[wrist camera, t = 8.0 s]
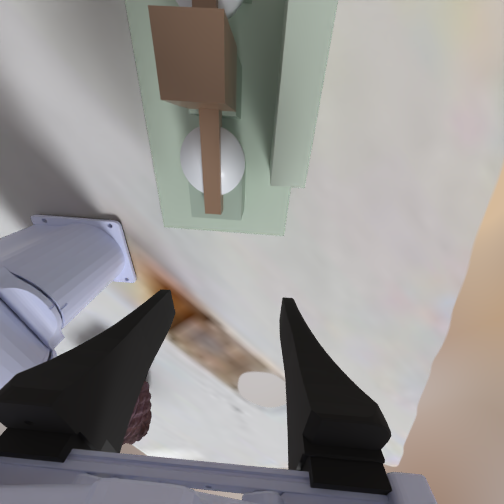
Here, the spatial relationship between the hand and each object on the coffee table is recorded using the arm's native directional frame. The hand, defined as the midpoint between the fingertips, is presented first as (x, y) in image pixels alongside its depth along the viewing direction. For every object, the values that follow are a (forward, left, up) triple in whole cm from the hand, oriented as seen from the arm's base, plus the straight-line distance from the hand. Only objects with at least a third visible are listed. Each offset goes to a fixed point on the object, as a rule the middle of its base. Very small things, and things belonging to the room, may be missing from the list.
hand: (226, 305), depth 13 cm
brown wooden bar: (-2, +12, -6) cm, 14 cm away
